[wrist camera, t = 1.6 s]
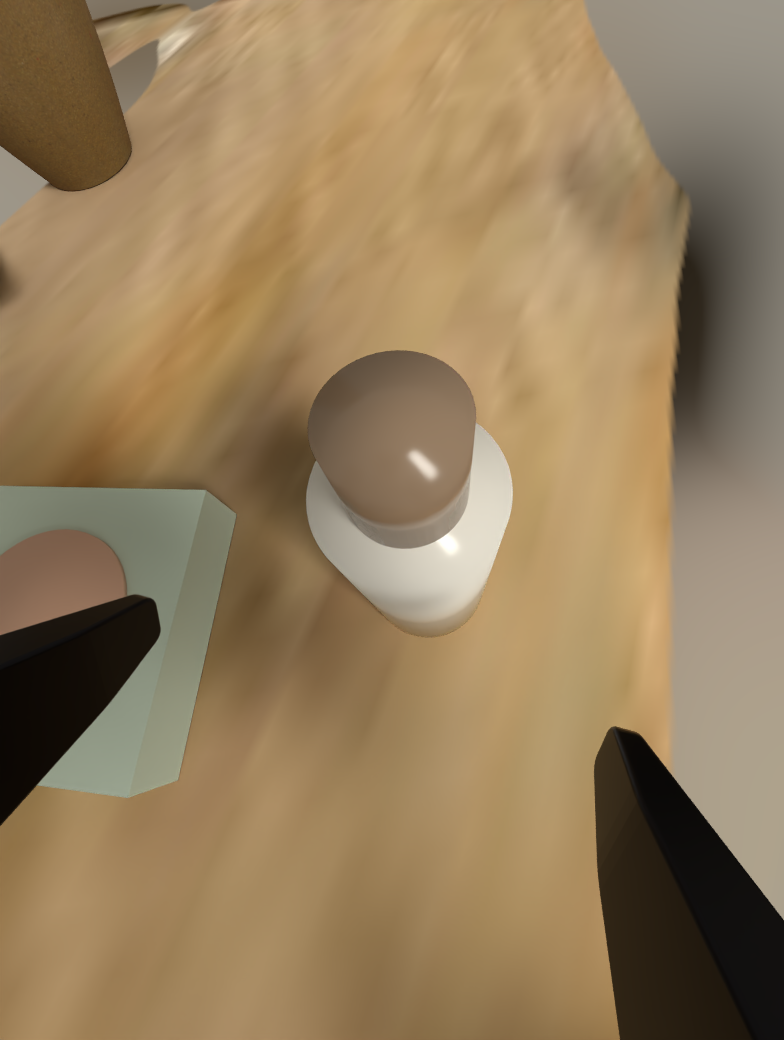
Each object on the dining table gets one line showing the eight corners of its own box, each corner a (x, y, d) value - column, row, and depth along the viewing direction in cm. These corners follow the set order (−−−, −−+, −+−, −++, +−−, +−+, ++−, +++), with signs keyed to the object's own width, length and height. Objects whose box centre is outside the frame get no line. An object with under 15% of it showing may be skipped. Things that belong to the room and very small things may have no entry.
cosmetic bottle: (482, 641, 18) (543, 561, 6) (368, 633, 19) (228, 547, 7) (483, 531, 20) (531, 304, 8) (378, 528, 21) (279, 314, 9)
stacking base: (178, 780, 18) (121, 800, 15) (-61, 749, 20) (-154, 761, 17) (236, 514, 22) (202, 487, 19) (36, 508, 24) (-25, 482, 21)
